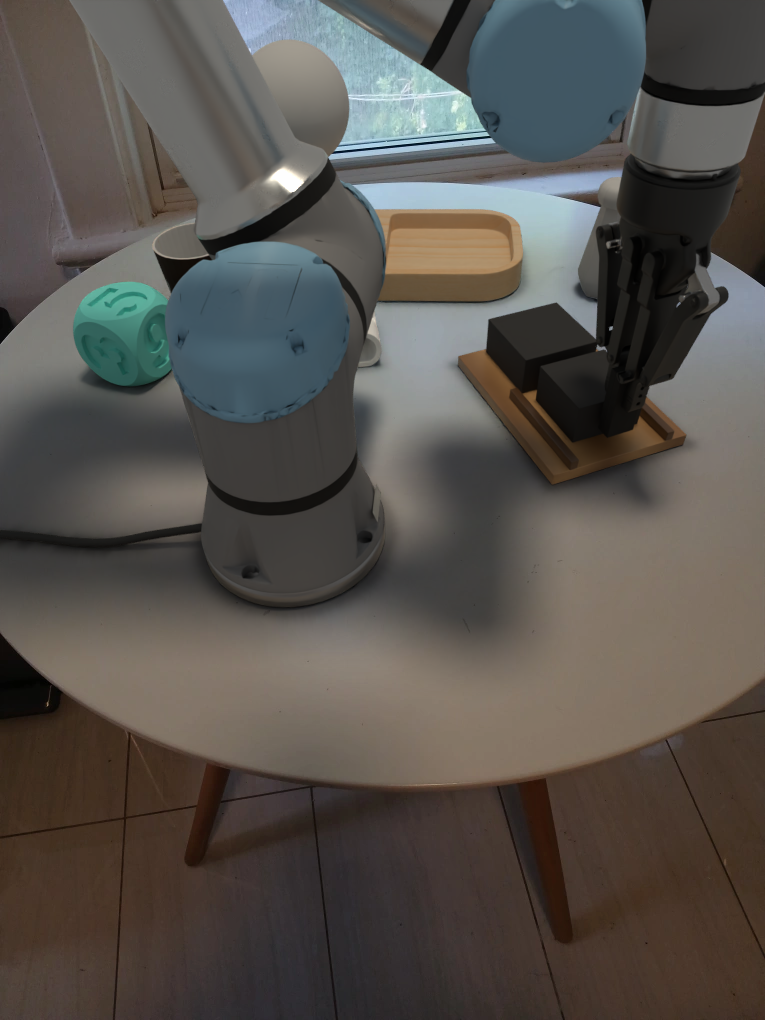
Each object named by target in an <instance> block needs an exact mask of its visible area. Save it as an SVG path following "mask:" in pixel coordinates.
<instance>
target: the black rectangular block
mask: <svg viewBox="0 0 765 1020" xmlns="http://www.w3.org/2000/svg"><path fill="white" fill-rule="evenodd" d="M608 367H609V363H608V361H607V350H606V349H600V350H598V351H596V352H592V353H589V354H585V355H581V356H577V357H573V358H570V359H566V360H562V361H558V362H554V363H551V364H547V365H543V366H540V372H539V379H538V386H537V393H536V401H537V402H538V403H539V404H540V406H541V407H542V408H543V409H544V410H545V411H546V413H547V414H548V415H549V416H550V417H551V418H552V420H553V421H554V422H555V423H556V424H557V425H558V427H559V428H560V429H561V430H562V431H563V432H564V434H565V435H566V436H567V437H568V438H569V439H570V441H571V442H572V443H573V442H577V441H580V440H584V439H587V438H590V437H594V436H597V435H601V434H603V433H602V432H601V431H600V430H599V429H598V426H599V421H600V417H601V412H602V408H603V404H604V399H605V395H606V391H605V385H604V384H605V380H606V376H607V371H608ZM641 409H642V408H640V409H639V410H638V413H637V417H636V421H635V424H637V423H638V420H639V416H640V412H641ZM635 424H634V425H635Z"/></svg>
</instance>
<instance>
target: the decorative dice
mask: <svg viewBox="0 0 765 1020" xmlns="http://www.w3.org/2000/svg"><path fill="white" fill-rule="evenodd" d="M168 300H169V299H167V297H166V296H165V295H164V294H162V293H161V292H160V291H158V290H157V289H155V288H154V287H152V286H151V285H148V284H146V283H143V282H138V281H120V282H114V283H109V284H105V285H103V286H100V287H98V288H95V289H94V290H92V291H91V292H89V293H87V294H86V295H85V297H83V298H82V300H81V302H80V303H79V305H78V306H77V309H76V311H75V314H74V318H73V322H72V323H73V324H72V334H73V341H74V345H75V348H76V350H77V352H78V354H79V356H80V357H81V358H82V360H83V362H84V363H85V364H86V365H87V366H88V368H89V369H90V370H92V372H94V373H95V374H96V375H97V376H98V377H100V378H101V379H103V380H105V381H106V382H108V383H111V384H112V385H113V384H114V385H117V386H122V387H139V386H145V385H149V384H150V383H153V382H156V381H158V380H160V379H162V378H163V377H165V376H166V375H167V374H168V373H169V372H170V371H172V368H171V364H170V360H169V354H168V353H169V344H168V339H167V335H166V329H165V312H166V307H167V303H168Z"/></svg>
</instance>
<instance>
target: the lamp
mask: <svg viewBox="0 0 765 1020" xmlns="http://www.w3.org/2000/svg"><path fill="white" fill-rule="evenodd" d="M251 55H252V57H253V58H254V60H255V62H256V64H257V66H258V68H259V70H260V72H261V74H262V76H263V78H264V79H265V81H266V83H267V85H268V87H269V89H270V91H271V93H272V95H273V97H274V98H275V100H276V102H277V104H278V106H279V108H280V110H281V112H282V114H283V116H284V118H285V119H286V121H287V123H288V125H289V127H290V129H291V131H292V133H293V135H294V137H295V138H296V139H298V140H299V141H302V142H305V143H307V144H310V145H313V146H316V147H319V148H322V149H323V150H324V151H325V153H326V154H327V156H328V158H330V156H331V155H332V154H334V152H335V151H336V150H337V148H338V147H339V145H340V144H341V142H342V141H343V138H344V136H345V134H346V131H347V128H348V124H349V119H350V98H349V93H348V88H347V85H346V82H345V79H344V77H343V75H342V73H341V71H340V69H339V68H338V66H337V65H336V64H335V62H334V61H333V60H332V59H331V58H330V57H329V56H328V55H327V54H326V53H325V52H324V51H322V50H321V49H319V48H318V47H317V46H315V45H313V44H311V43H308V42H306V41H302V40H299V39H280V40H275V41H272V42H269V43H267V44H265V45H264V46H261V47H260V48H259V49H257V50H256V51H255V52H254V53H253V54H251ZM374 210H375V211H376V213H377V215H378V217H379V220H380V222H381V225H382V228H383V231H384V236H385V243H386V270H385V279H384V284H383V287H382V289H381V292H380V296H379V298H378V301H380V302H381V301H383V302H384V301H386V302H387V301H388V302H390V301H391V302H394V301H396V302H399V301H400V302H486V301H487V302H489V301H493V300H494V301H495V300H498V299H502V298H505V297H507V296H509V295H511V294H512V293H513V292H515V291H516V290H517V289H518V288H519V286H520V284H521V279H522V271H523V270H522V269H523V261H524V248H523V246H524V245H523V238H522V230H521V225H520V223H519V222H518V221H517V219H515V218H513V216H510V215H509V214H506V213H504V212H501V211H498V210H491V209H484V208H483V209H482V208H418V209H417V208H408V209H407V208H388V209H387V208H385V209H384V208H383V209H381V208H374ZM378 301H377V302H378Z"/></svg>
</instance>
